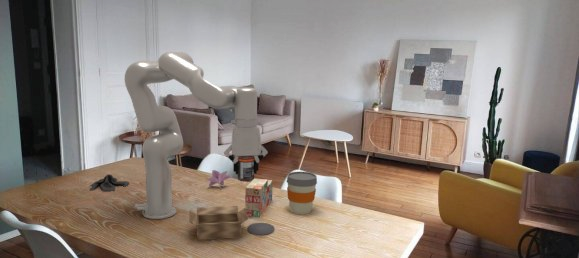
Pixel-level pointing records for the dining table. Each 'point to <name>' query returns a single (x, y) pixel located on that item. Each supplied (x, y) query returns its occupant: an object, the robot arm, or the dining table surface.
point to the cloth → (108, 184)
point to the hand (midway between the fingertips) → (245, 172)
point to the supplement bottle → (245, 168)
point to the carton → (218, 222)
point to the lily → (218, 178)
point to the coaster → (260, 229)
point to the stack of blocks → (258, 197)
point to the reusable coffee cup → (301, 191)
